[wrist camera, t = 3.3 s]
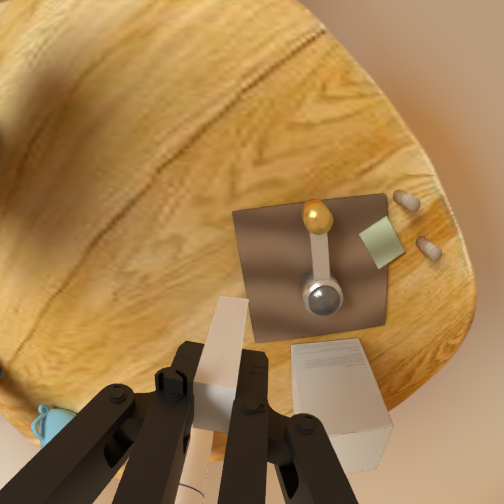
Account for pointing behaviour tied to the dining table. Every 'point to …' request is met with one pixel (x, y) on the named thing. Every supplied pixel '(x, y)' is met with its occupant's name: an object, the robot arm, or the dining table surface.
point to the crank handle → (319, 262)
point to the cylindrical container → (195, 468)
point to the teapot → (50, 423)
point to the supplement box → (342, 400)
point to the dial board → (299, 264)
